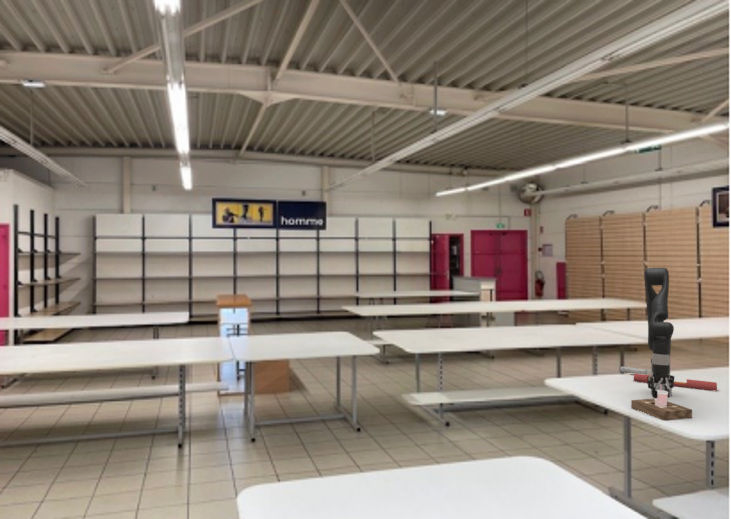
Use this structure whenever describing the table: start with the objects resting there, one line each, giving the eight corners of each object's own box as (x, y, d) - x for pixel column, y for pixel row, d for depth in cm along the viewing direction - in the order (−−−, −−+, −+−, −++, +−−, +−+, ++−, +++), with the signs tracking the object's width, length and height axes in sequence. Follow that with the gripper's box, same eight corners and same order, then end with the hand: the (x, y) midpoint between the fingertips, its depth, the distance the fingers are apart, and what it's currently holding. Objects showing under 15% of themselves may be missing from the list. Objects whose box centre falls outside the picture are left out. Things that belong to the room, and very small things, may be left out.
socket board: (657, 406, 258) (657, 397, 258) (692, 418, 238) (692, 409, 238) (631, 408, 254) (631, 399, 254) (663, 420, 234) (663, 411, 235)
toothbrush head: (623, 365, 340) (657, 367, 317) (625, 375, 339) (658, 378, 316) (618, 366, 338) (651, 368, 315) (619, 376, 338) (652, 379, 315)
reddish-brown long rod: (716, 390, 292) (716, 381, 292) (716, 392, 288) (716, 383, 288) (634, 380, 315) (634, 372, 315) (633, 382, 310) (633, 374, 310)
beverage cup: (671, 411, 244) (671, 382, 244) (661, 412, 242) (661, 382, 242) (660, 407, 250) (660, 379, 250) (650, 408, 248) (650, 379, 248)
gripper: (666, 360, 252) (666, 394, 252) (642, 362, 248) (642, 396, 248) (679, 363, 244) (679, 398, 244) (654, 365, 241) (654, 400, 241)
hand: (660, 397), depth 246 cm, fingers closed on beverage cup, 6 cm apart
